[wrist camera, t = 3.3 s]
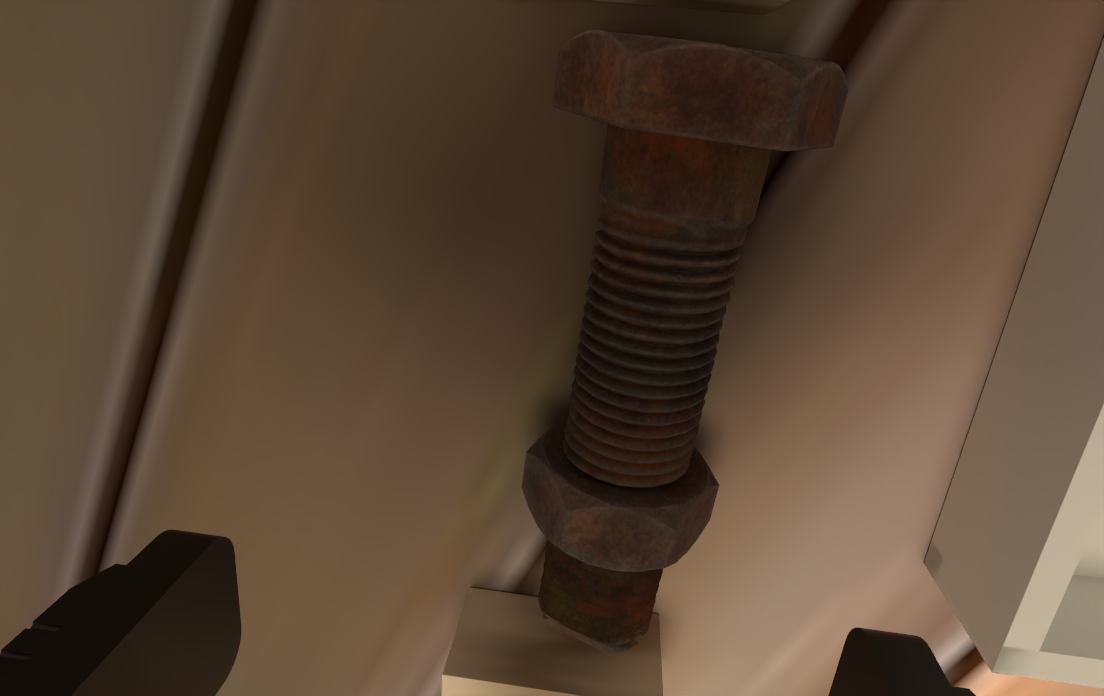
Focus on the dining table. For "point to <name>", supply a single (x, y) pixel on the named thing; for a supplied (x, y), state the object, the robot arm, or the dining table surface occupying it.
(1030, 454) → the tray
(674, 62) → the bolt
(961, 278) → the dining table surface
